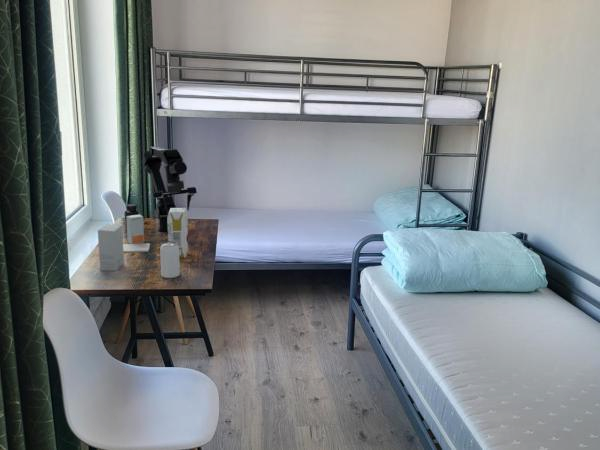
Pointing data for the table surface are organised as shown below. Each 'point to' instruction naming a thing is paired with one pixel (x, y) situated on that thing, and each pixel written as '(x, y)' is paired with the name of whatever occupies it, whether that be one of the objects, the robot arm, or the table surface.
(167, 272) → the can
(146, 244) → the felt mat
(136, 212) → the supplement bottle
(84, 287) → the table surface
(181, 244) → the juice carton
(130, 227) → the skincare box
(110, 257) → the skincare box
